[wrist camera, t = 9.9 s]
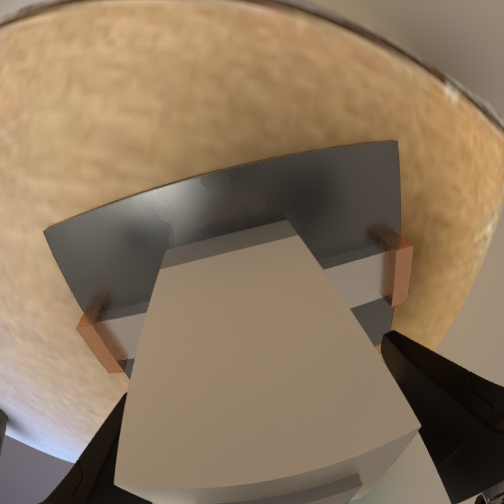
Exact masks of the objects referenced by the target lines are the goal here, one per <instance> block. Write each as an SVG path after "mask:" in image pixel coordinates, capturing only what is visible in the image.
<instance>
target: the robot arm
mask: <svg viewBox="0 0 504 504" xmlns="http://www.w3.org/2000/svg"><path fill="white" fill-rule="evenodd" d="M381 354H382V356H383V359H384V361H385V364H386V366H387V368H388V369H389V371H390V373H391V374H392V376H393V378H394V379H395V381H396V383H397V384H398V386H399V388H400V389H401V391H402V393H403V395H404V396H405V398H406V400H407V401H408V403H409V405H410V407H411V408H412V410H413V412H414V414H415V415H416V417H417V419H418V421H419V423H420V424H421V428H420V429H419V430H418V432H419V434H420V436H421V438H422V440H423V442H424V444H425V446H426V448H427V450H428V452H429V454H430V456H431V458H432V461H433V463H434V465H435V467H436V468H437V471H438V474H439V476H440V478H441V480H442V483H443V485H444V487H445V490H446V492H447V494H448V497H449V499H450V501H451V504H457V503H460V502H462V501H465V500H466V499H469V498H471V497H473V496H475V495H477V494H479V493H481V494H480V495H479V496H478V497H477V499H476V501H475V504H504V387H502V386H500V385H497V384H495V383H493V382H490V381H488V380H486V379H484V378H482V377H480V376H478V375H476V374H474V373H472V372H471V371H468V370H467V369H465V368H463V367H461V366H459V365H458V364H456V363H454V362H452V361H450V360H448V359H446V358H444V357H443V356H441V355H439V354H437V353H435V352H434V351H432V350H430V349H428V348H426V347H424V346H423V345H421V344H419V343H417V342H415V341H413V340H411V339H410V338H408V337H406V336H404V335H402V334H400V333H399V332H397V331H394V330H392V331H389V332H387V333H384V335H383V337H382V343H381ZM127 393H128V392H127ZM127 393H125V394H124V395H123V396H122V398H121V399H120V401H119V402H118V403H117V405H116V406H115V408H114V409H113V410H112V412H111V413H110V414H109V416H108V417H107V419H106V420H105V422H104V423H103V424H102V426H101V427H100V429H99V430H98V431H97V433H96V434H95V436H94V437H93V438H92V440H91V441H90V443H89V444H88V446H87V447H86V448H85V450H84V451H83V453H82V454H81V456H80V457H79V459H78V460H77V461H76V463H75V464H74V466H73V467H72V468H71V470H70V471H69V473H68V474H67V475H66V476H65V478H64V479H63V480H62V481H61V483H60V484H59V485H58V486H57V487H56V489H54V491H53V492H52V493H51V494H50V495H49V496H48V497H47V498H46V500H44V501H43V502H41V503H39V504H152V502H151V501H148V500H146V499H144V498H141V497H139V496H137V495H135V494H132V493H130V492H128V491H126V490H124V489H122V488H120V487H118V486H116V485H114V478H115V468H116V460H117V452H118V445H119V438H120V432H121V425H122V420H123V414H124V408H125V403H126V398H127Z"/></svg>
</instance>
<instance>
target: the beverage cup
mask: <svg viewBox="0 0 504 504" xmlns="http://www.w3.org/2000/svg"><path fill="white" fill-rule="evenodd" d="M7 421H8V418H7V416H6V415H5V414H4V413H3V412H2V411H1V410H0V454H1V448H2V444H3V439H4V435H5V431H6V424H7Z"/></svg>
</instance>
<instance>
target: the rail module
mask: <svg viewBox="0 0 504 504" xmlns="http://www.w3.org/2000/svg"><path fill="white" fill-rule="evenodd" d="M420 428H421V424H420V423H419V421H418V419H417V417H416V415H415V414H414V412H413V410H412V408H411V407H410V405H409V403H408V401H407V400H406V398H405V396H404V395H403V393H402V391H401V389H400V388H399V386H398V384H397V383H396V381H395V379H394V378H393V376H392V374H391V373H390V371H389V369H388V368H387V366H386V365H385V363H384V361H383V360H382V358H381V357H380V355H379V353H378V352H377V350H376V349H375V347H374V345H373V344H372V342H371V341H370V339H369V337H368V336H367V334H366V333H365V331H364V330H363V328H362V327H361V325H360V324H359V322H358V320H357V319H356V317H355V316H354V314H353V313H352V311H351V310H350V308H349V307H348V305H347V304H346V302H345V301H344V299H343V298H342V296H341V295H340V293H339V292H338V290H337V289H336V288H335V286H334V285H333V283H332V282H331V280H330V279H329V277H328V276H327V274H326V273H325V272H324V270H323V269H322V267H321V266H320V264H319V263H318V262H317V260H316V259H315V257H314V256H313V255H312V253H311V252H310V250H309V249H308V248H307V246H306V245H305V243H304V242H303V241H302V239H301V238H300V236H299V235H298V234H297V232H296V231H295V230H294V228H293V227H292V225H291V224H290V223H289V221H288V220H284V221H280V222H275V223H271V224H267V225H263V226H259V227H255V228H250V229H246V230H242V231H238V232H234V233H230V234H226V235H222V236H218V237H214V238H210V239H206V240H202V241H199V242H195V243H191V244H187V245H183V246H179V247H175V248H172V249H168V250H166V252H165V255H164V258H163V261H162V264H161V267H160V270H159V273H158V276H157V280H156V283H155V286H154V290H153V293H152V296H151V300H150V303H149V307H148V310H147V314H146V317H145V321H144V325H143V328H142V332H141V336H140V340H139V344H138V348H137V352H136V356H135V361H134V365H133V369H132V374H131V378H130V383H129V388H128V393H127V398H126V403H125V408H124V414H123V420H122V425H121V432H120V438H119V445H118V452H117V460H116V468H115V478H114V485H116V486H118V487H120V488H122V489H124V490H126V491H128V492H130V493H132V494H135V495H137V496H139V497H141V498H144V499H146V500H148V501H151V502H153V503H156V504H348V503H349V502H350V501H351V500H354V499H357V498H360V497H362V496H364V495H365V494H366V493H367V492H368V491H369V490H370V489H371V488H372V487H373V486H374V485H375V484H376V483H377V482H378V481H379V479H380V478H381V477H382V476H383V475H384V474H385V472H387V470H388V469H389V468H390V467H391V466H392V464H393V463H394V462H395V461H396V460H397V458H398V457H399V456H400V455H401V453H402V452H403V451H404V450H405V448H406V447H407V446H408V444H409V443H410V442H411V440H412V439H413V438H414V436H415V435H416V433H417V432H418V430H419V429H420Z"/></svg>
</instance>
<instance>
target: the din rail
mask: <svg viewBox="0 0 504 504" xmlns="http://www.w3.org/2000/svg"><path fill="white" fill-rule="evenodd" d="M284 220H288V221H289V223H290V224H291V225H292V227H293V228H294V230H295V231H296V232H297V234H298V235H299V236H300V238H301V239H302V241H303V242H304V243H305V245H306V246H307V248H308V249H309V250H310V252H311V253H312V255H313V256H314V257H315V259H316V260H317V262H318V263H319V264H320V266H321V267H322V269H323V270H324V272H325V273H326V274H327V276H328V277H329V279H330V280H331V282H332V283H333V285H334V286H335V288H336V289H337V290H338V292H339V293H340V295H341V296H342V298H343V299H344V301H345V302H346V304H347V305H348V307H349V308H350V310H351V311H352V313H353V314H354V316H355V317H356V319H357V320H358V322H359V324H360V325H361V327H362V328H363V330H364V331H365V333H366V334H367V336H368V337H369V339H370V341H371V342H372V344H373V345H374V346H376V345H379V344H381V343H382V337H383V335H384V333H387V332H389V331H390V330H391V324H392V317H393V311H394V306H397V305H399V304H402V303H404V302H407V299H408V292H409V285H410V278H411V269H412V259H413V248H414V245H413V244H411V243H410V242H409V241H407V240H406V239H405V238H403V237H402V236H400V225H401V191H400V167H399V152H398V141H395V140H387V141H377V142H368V143H360V144H352V145H344V146H337V147H330V148H324V149H318V150H312V151H306V152H300V153H295V154H289V155H284V156H279V157H274V158H269V159H264V160H259V161H255V162H250V163H246V164H241V165H237V166H233V167H229V168H225V169H221V170H217V171H213V172H209V173H205V174H201V175H198V176H194V177H190V178H187V179H183V180H180V181H176V182H173V183H170V184H166V185H163V186H160V187H156V188H153V189H150V190H147V191H144V192H141V193H138V194H135V195H132V196H129V197H126V198H123V199H120V200H117V201H114V202H112V203H109V204H106V205H103V206H101V207H98V208H95V209H93V210H90V211H87V212H85V213H82V214H80V215H77V216H75V217H72V218H70V219H67V220H65V221H63V222H60V223H58V224H55V225H53V226H51V227H48V228H47V229H45V230H44V231H43V233H44V235H45V238H46V240H47V242H48V245H49V247H50V249H51V251H52V254H53V256H54V258H55V260H56V262H57V264H58V266H59V268H60V270H61V272H62V274H63V276H64V278H65V280H66V282H67V284H68V286H69V288H70V289H71V291H72V293H73V295H74V297H75V298H76V300H77V302H78V304H79V305H80V307H81V309H82V310H83V312H84V314H83V316H82V318H81V320H80V322H79V324H78V325H77V327H76V329H77V330H78V332H79V333H80V335H81V336H82V338H83V339H84V341H85V342H86V343H87V345H88V346H89V348H90V349H91V350H92V352H93V353H94V355H95V356H96V357H97V359H98V360H99V361H100V363H101V364H102V365H103V366H104V368H105V369H106V370H107V372H108V373H119V372H125V374H126V375H127V376H128V377H129V379H130V378H131V374H132V369H133V365H134V361H135V356H136V352H137V348H138V344H139V340H140V336H141V332H142V328H143V325H144V321H145V317H146V314H147V310H148V307H149V303H150V300H151V296H152V293H153V290H154V286H155V283H156V280H157V276H158V273H159V270H160V267H161V264H162V261H163V258H164V255H165V252H166V250H168V249H172V248H175V247H179V246H183V245H187V244H191V243H195V242H199V241H202V240H206V239H210V238H214V237H218V236H222V235H226V234H230V233H234V232H238V231H242V230H246V229H250V228H255V227H259V226H263V225H267V224H271V223H275V222H280V221H284Z"/></svg>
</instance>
